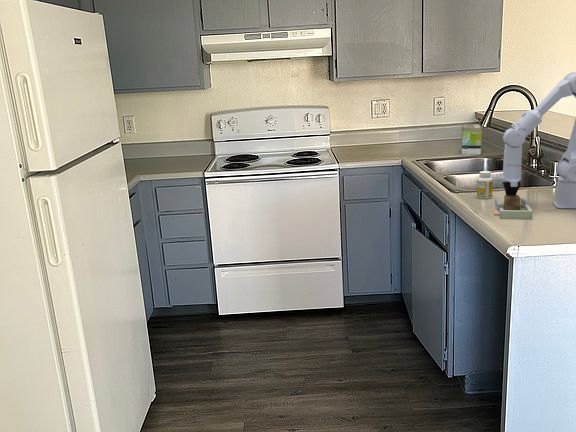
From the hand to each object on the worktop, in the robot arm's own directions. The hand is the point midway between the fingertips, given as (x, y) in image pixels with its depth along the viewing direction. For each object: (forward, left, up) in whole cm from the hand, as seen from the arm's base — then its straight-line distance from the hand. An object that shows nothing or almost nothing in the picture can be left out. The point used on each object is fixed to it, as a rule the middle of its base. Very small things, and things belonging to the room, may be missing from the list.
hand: (510, 202), depth 194 cm
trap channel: (0, +6, -1) cm, 6 cm away
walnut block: (0, +4, -1) cm, 4 cm away
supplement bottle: (+7, -14, -2) cm, 16 cm away
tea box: (+6, -117, -2) cm, 117 cm away
